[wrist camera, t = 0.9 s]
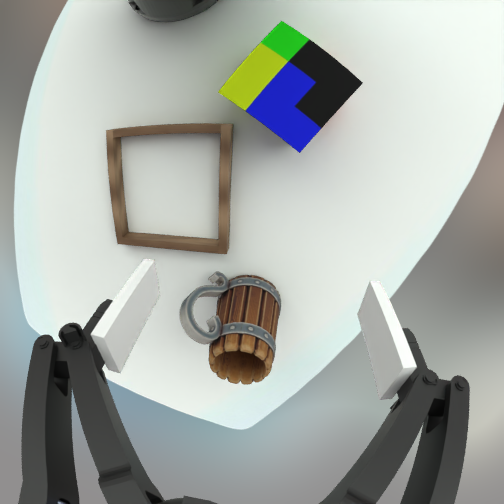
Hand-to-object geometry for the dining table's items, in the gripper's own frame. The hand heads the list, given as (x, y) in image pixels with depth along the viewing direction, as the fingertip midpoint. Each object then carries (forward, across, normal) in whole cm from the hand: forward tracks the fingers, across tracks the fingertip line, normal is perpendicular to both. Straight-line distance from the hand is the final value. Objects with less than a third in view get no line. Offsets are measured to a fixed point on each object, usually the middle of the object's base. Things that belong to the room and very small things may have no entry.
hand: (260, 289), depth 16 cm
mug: (+23, -4, -18) cm, 30 cm away
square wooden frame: (+24, -15, -2) cm, 28 cm away
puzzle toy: (+24, +1, +13) cm, 27 cm away
